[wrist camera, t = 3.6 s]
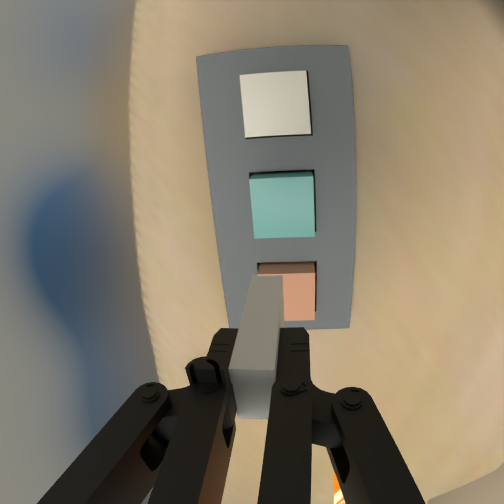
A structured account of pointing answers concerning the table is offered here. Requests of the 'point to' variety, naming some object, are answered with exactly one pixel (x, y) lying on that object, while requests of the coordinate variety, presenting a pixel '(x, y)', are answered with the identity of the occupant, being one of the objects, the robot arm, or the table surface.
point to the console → (280, 159)
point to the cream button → (275, 103)
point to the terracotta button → (294, 287)
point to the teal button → (282, 204)
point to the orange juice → (337, 492)
